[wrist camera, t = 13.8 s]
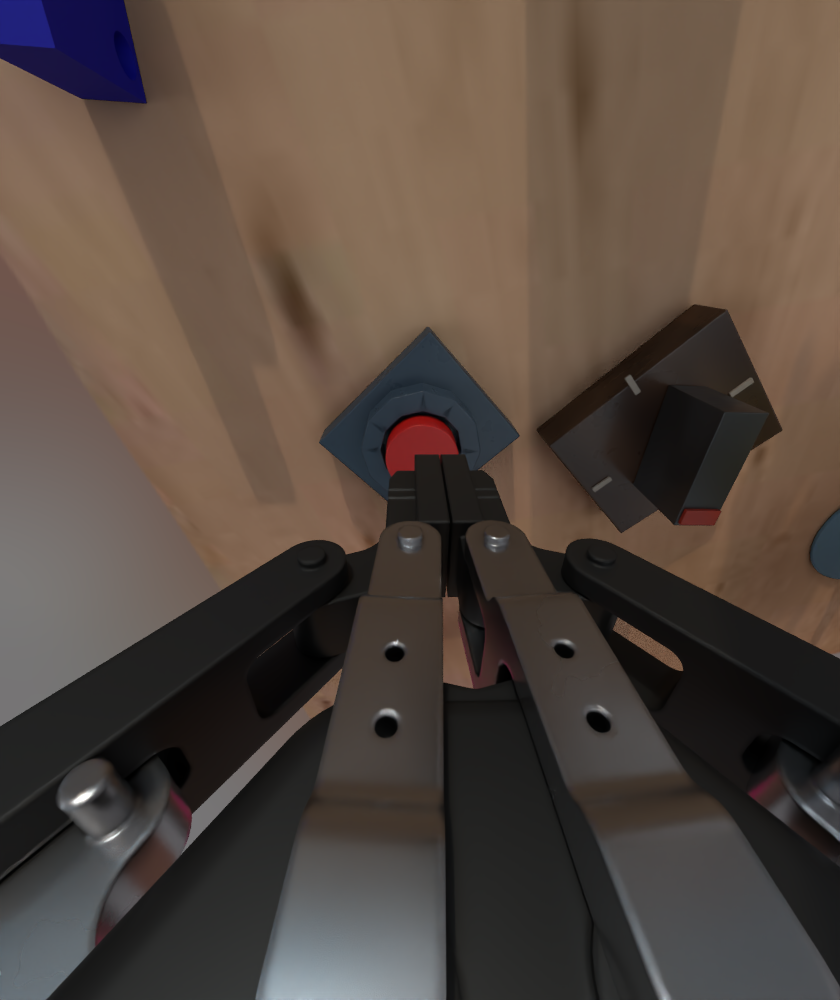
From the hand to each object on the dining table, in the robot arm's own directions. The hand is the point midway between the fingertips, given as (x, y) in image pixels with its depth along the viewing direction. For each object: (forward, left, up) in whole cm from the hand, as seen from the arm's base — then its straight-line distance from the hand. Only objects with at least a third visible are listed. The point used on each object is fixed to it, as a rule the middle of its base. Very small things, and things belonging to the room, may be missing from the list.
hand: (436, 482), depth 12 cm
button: (+3, +3, -13) cm, 14 cm away
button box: (+3, +3, -16) cm, 17 cm away
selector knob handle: (-9, +14, -13) cm, 22 cm away
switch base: (-9, +14, -16) cm, 24 cm away
